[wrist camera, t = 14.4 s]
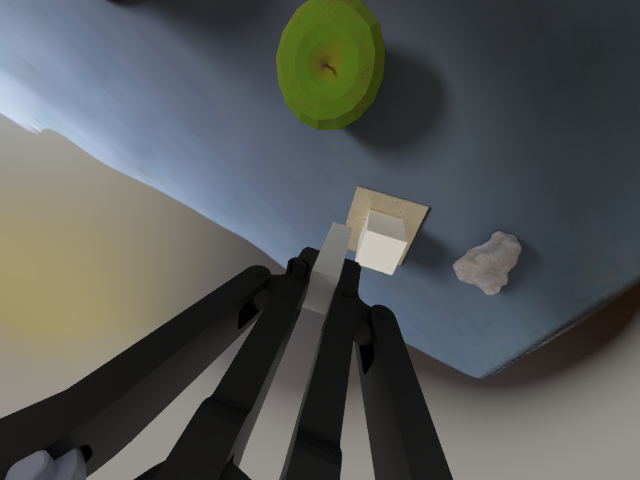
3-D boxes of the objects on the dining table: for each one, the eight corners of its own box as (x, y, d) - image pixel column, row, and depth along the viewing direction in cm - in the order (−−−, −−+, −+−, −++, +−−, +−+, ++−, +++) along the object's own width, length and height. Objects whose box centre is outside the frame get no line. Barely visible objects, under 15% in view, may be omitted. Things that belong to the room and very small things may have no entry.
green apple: (359, 139, 38) (351, 148, 28) (288, 107, 38) (255, 104, 28) (401, 43, 31) (410, 11, 22) (316, 5, 32) (287, -44, 22)
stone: (444, 268, 44) (452, 287, 39) (474, 220, 40) (488, 235, 34) (489, 283, 44) (503, 304, 38) (524, 236, 39) (546, 253, 34)
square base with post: (357, 185, 41) (352, 202, 33) (428, 206, 40) (439, 228, 32) (339, 244, 47) (330, 270, 39) (400, 263, 46) (403, 294, 38)
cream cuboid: (369, 209, 41) (366, 230, 34) (402, 219, 41) (407, 242, 33) (359, 238, 44) (354, 263, 37) (390, 247, 44) (391, 275, 36)
